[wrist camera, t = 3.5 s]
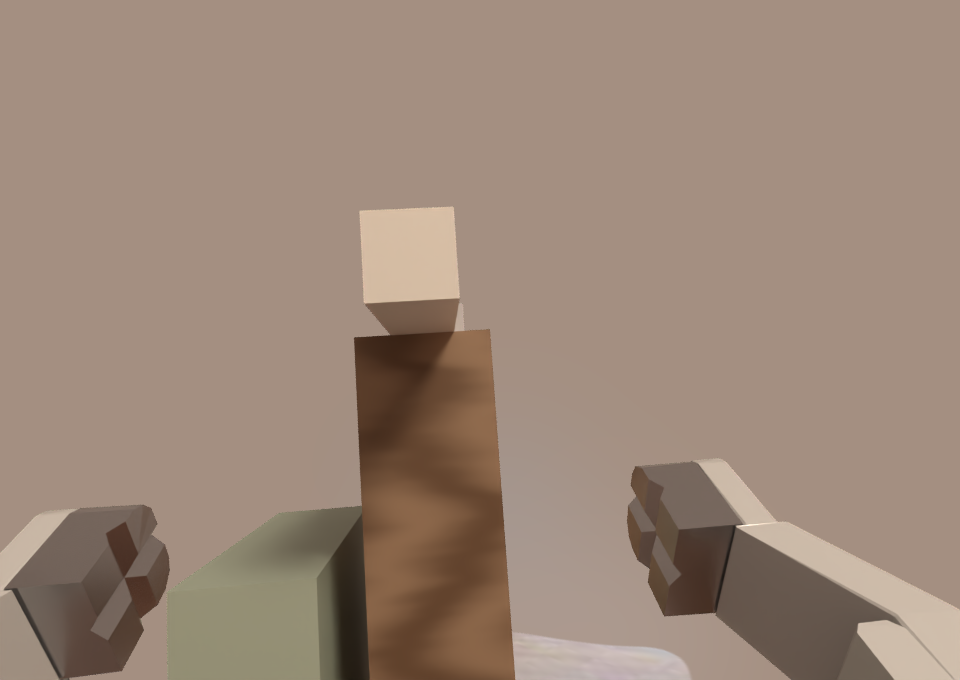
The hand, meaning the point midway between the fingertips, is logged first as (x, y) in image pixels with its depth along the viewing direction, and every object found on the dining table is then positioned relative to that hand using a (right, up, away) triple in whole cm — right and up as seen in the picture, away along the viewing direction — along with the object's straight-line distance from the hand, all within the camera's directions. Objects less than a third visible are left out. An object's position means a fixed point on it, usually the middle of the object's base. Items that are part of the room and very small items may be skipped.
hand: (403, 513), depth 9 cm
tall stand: (0, -23, +19) cm, 30 cm away
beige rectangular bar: (-1, +3, +16) cm, 17 cm away
